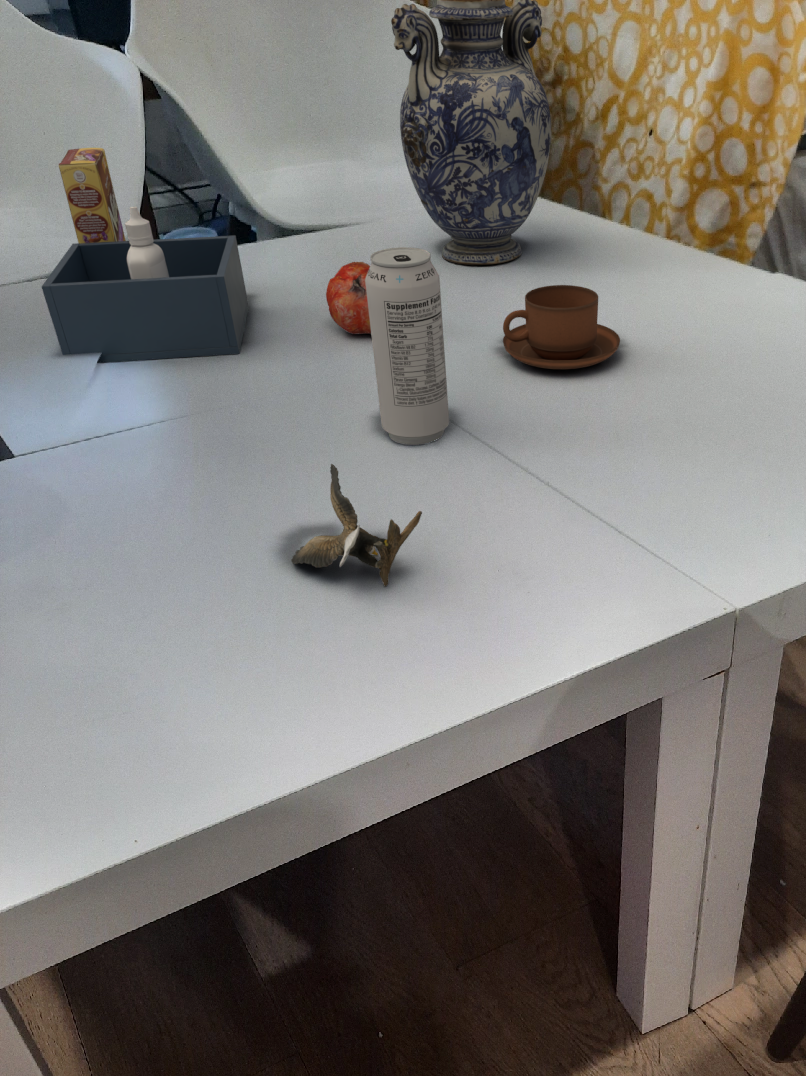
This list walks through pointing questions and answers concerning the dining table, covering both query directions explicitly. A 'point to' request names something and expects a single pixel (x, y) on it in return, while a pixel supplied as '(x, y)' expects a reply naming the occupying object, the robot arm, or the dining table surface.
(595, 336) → the cup and saucer
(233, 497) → the dining table surface
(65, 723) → the dining table surface
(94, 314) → the bin
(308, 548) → the eagle figurine
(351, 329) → the pomegranate
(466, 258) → the decorative vase
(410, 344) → the energy drink can
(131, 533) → the dining table surface
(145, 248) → the eye dropper bottle
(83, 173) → the candy box
